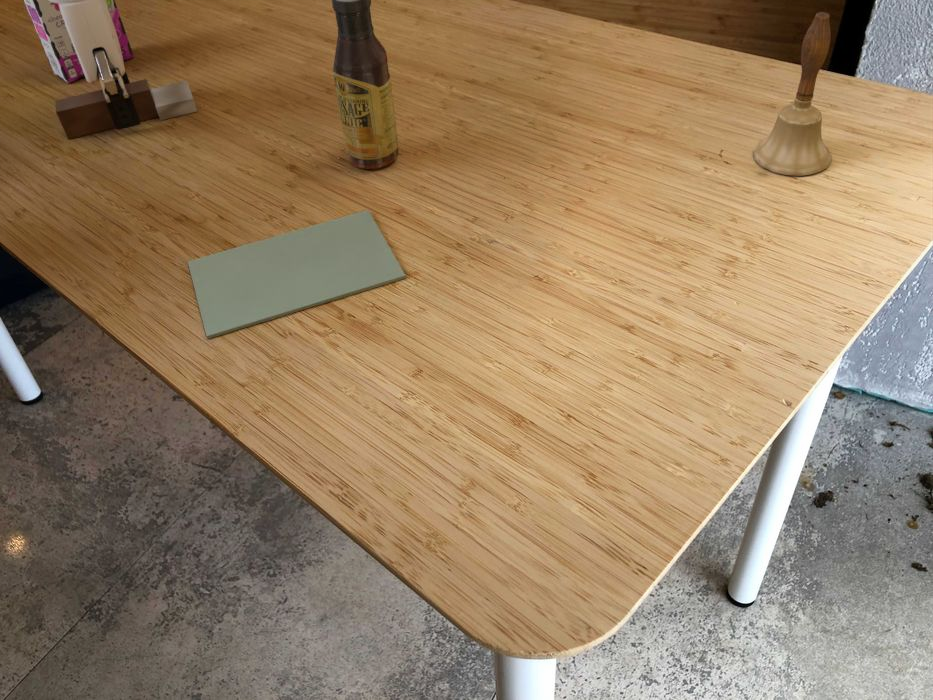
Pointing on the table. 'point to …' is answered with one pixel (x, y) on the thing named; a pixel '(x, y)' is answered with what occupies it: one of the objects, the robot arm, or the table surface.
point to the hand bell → (800, 115)
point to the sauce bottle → (363, 88)
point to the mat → (292, 272)
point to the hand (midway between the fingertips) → (125, 111)
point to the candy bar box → (67, 37)
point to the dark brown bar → (161, 102)
